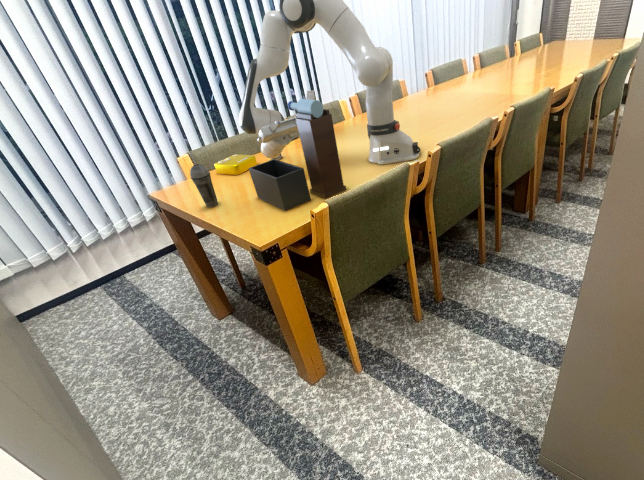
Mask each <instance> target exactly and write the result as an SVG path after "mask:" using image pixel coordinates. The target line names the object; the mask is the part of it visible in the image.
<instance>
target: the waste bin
mask: <svg viewBox="0 0 644 480" xmlns="http://www.w3.org/2000/svg"><path fill="white" fill-rule="evenodd" d="M248 171H249V174H250V178H251V181H252V184H253V186H254V187H253V188H254V189H255V193H256V196H257V198H258V199H259V200H261V201H262V202H263V201H264V202H265V203H268V204H270V205H272V206H274V207H275V208H279V209H280V210H282V211H284V212H286V211H288V210H291V209H293V208H296V207H298V206H300V205H302V204H305V203H307V202H311V200H312V198H311V193H310V189H309V185H308V180H307V177H306V173H305V169H304V167H301V166H298V165H294V164H291V163H289V162H286V161H282V160H280V159H279V160H276V159H273V160H272V159H271V160H267V161H265V162H262V163H259V164H257V165H256V166H253V167H251V168H249V170H248Z"/></svg>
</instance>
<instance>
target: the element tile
mask: <svg viewBox="0 0 644 480" xmlns="http://www.w3.org/2000/svg"><path fill="white" fill-rule="evenodd" d="M256 165H258V162H257V157H256V156H255V155H254V154H232V155H230V156H228V157H225V158H224V159H222V160H218V162H215V163H214V165H213V166H214V168H215V171H216V174H218V175H228V176H229V175H230V176H239V175H241V174H244V173H246V172H247V171H249V168H251V167H253V166H256Z"/></svg>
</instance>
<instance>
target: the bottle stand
mask: <svg viewBox="0 0 644 480" xmlns="http://www.w3.org/2000/svg"><path fill="white" fill-rule="evenodd" d="M295 115H297V118H296V122H297V127H298V131H299V136H300V137H299V139H300V143H301V148H302V153H303V157H304V161H305V167H306V170H307V175H308V179H309V184H310V189H309V193H310V194H312V195H315V196H317V197H320V198H322V199H324V200H325V199H328V198H331V197H332V196H334V195H337V194H339V193H342V192H343V191H346V190H347V186H346V185H344V178H343V174H342V167H341V162H340V161H341V160H340V155H339V151H338V145H337V139H336V133H335V127H334V121H333V115H332V113H330V109H329V108H323V114H322V115H321V116H320V117H319V118H315V117H313V115H312V114H305V113H299V112H298V111H297V112H295Z"/></svg>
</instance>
